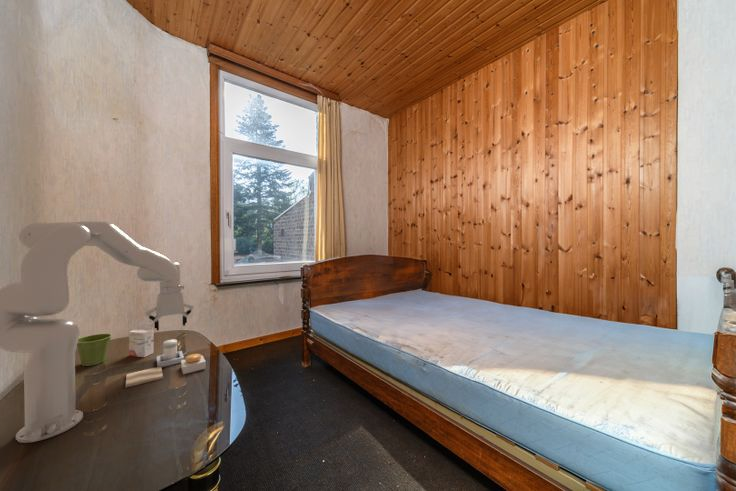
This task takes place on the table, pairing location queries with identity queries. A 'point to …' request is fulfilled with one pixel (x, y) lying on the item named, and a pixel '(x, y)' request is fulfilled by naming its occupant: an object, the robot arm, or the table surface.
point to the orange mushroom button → (193, 358)
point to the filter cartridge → (169, 349)
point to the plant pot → (93, 348)
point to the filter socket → (169, 362)
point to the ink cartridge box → (141, 340)
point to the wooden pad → (143, 376)
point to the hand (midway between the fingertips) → (171, 327)
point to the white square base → (193, 365)
